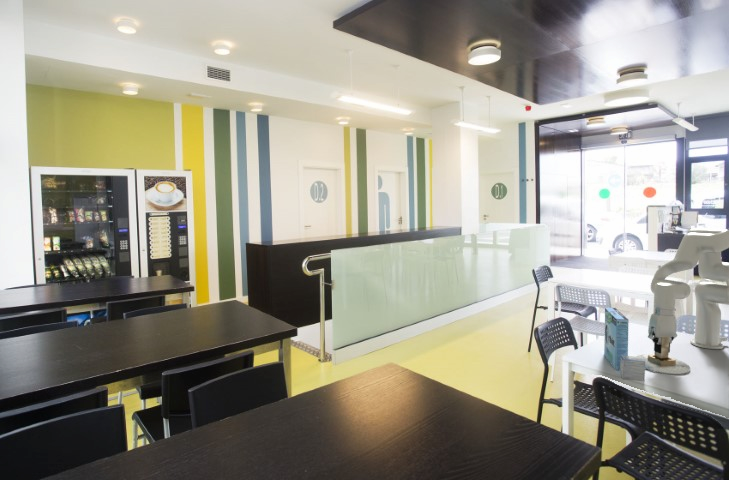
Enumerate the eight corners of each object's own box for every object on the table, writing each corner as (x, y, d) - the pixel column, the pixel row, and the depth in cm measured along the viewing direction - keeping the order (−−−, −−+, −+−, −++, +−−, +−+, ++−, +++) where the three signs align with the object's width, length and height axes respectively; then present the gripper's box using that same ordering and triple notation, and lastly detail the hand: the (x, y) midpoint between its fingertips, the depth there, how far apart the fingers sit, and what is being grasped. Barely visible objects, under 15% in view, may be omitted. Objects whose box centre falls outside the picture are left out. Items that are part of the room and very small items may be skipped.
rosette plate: (662, 355, 194) (662, 347, 194) (702, 372, 174) (702, 364, 174) (623, 358, 191) (624, 351, 191) (660, 376, 172) (660, 368, 171)
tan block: (661, 354, 184) (662, 332, 183) (668, 357, 181) (669, 335, 180) (654, 354, 184) (655, 333, 183) (661, 358, 181) (662, 335, 179)
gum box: (627, 371, 178) (629, 319, 175) (614, 370, 179) (615, 318, 177) (615, 354, 196) (616, 307, 194) (603, 353, 198) (604, 307, 195)
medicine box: (641, 377, 172) (642, 356, 171) (644, 381, 168) (645, 361, 167) (619, 374, 174) (620, 355, 174) (622, 379, 170) (623, 359, 169)
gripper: (673, 308, 185) (671, 347, 187) (639, 310, 183) (638, 350, 185) (688, 312, 178) (686, 353, 179) (653, 314, 176) (651, 356, 177)
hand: (661, 351), depth 182 cm, fingers closed on tan block, 3 cm apart
